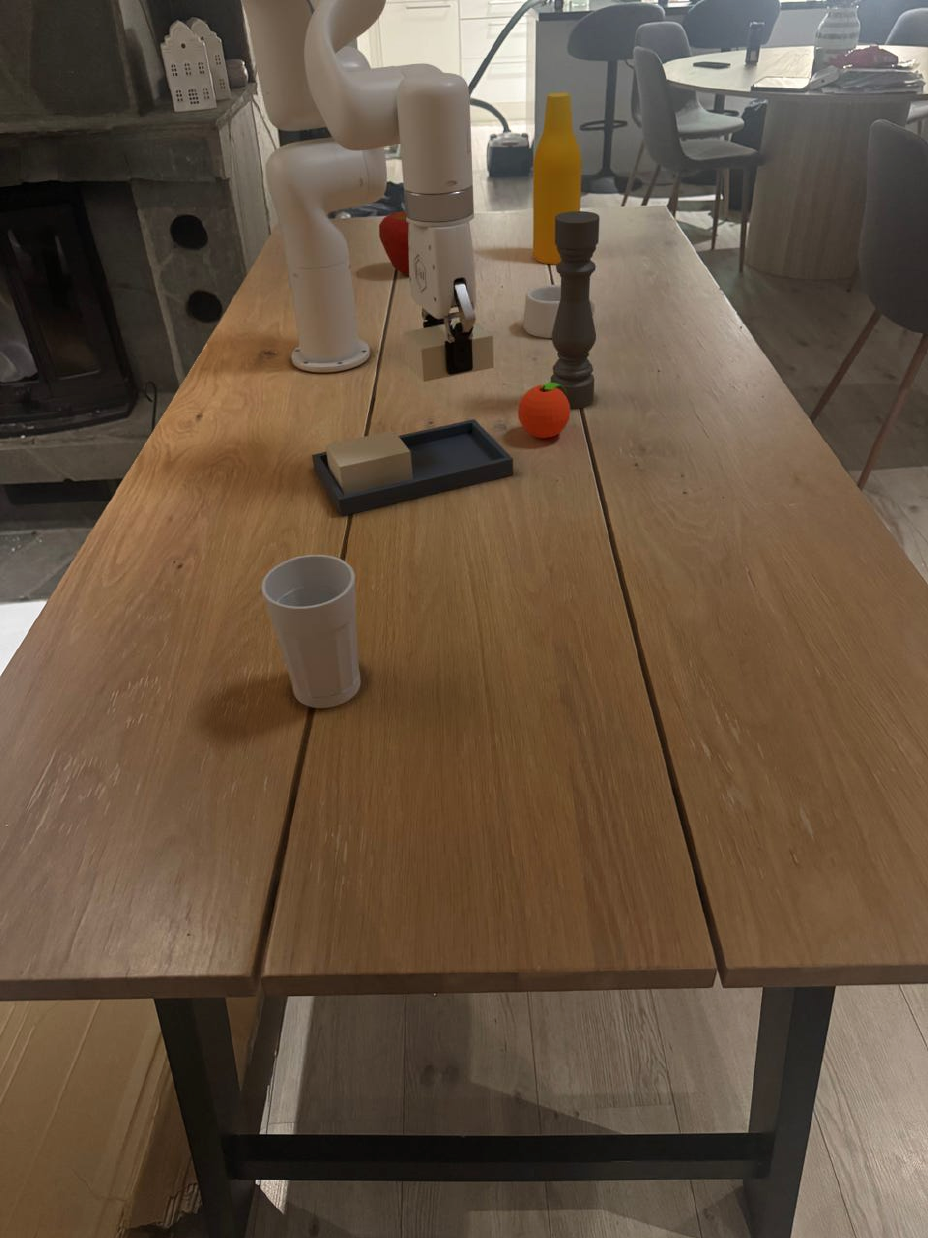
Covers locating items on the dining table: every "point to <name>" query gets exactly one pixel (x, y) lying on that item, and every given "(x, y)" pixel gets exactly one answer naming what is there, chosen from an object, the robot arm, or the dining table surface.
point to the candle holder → (575, 306)
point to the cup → (316, 627)
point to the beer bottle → (554, 176)
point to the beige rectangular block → (443, 351)
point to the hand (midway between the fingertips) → (448, 360)
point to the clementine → (544, 410)
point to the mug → (543, 310)
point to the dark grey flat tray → (429, 467)
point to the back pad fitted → (369, 462)
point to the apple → (396, 240)
